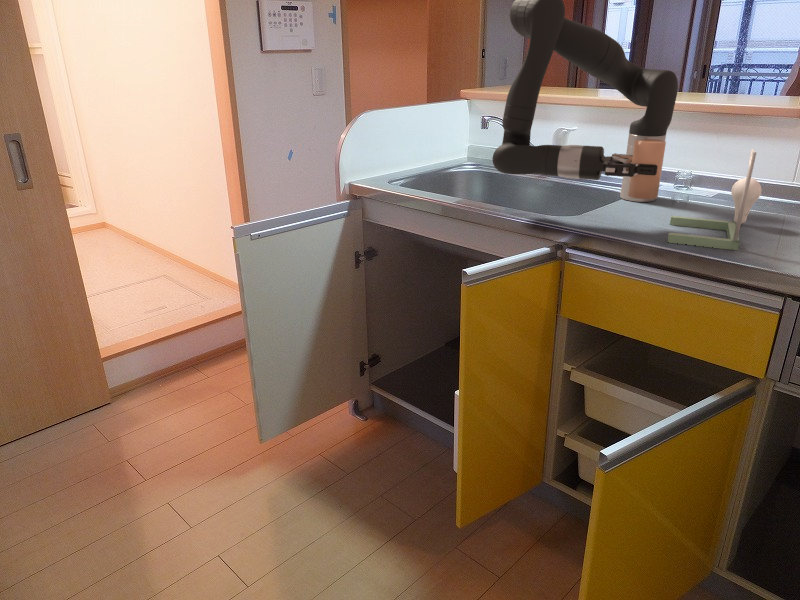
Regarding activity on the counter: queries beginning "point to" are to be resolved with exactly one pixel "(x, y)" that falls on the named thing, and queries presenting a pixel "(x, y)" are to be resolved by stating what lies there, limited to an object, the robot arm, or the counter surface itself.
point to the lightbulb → (751, 198)
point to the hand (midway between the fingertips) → (657, 167)
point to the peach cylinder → (647, 154)
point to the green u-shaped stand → (714, 224)
